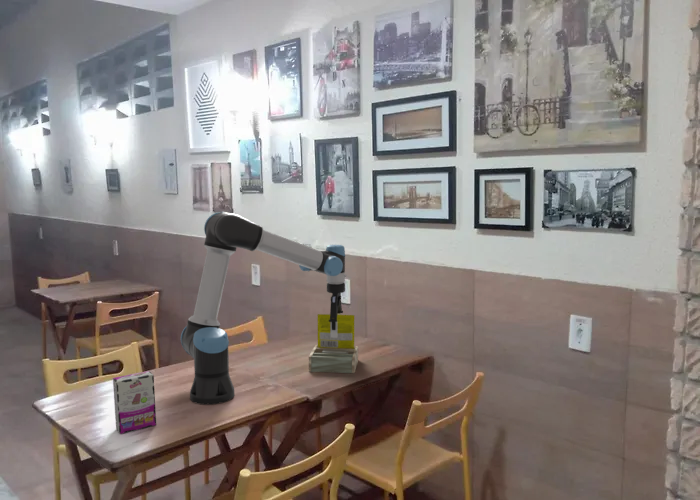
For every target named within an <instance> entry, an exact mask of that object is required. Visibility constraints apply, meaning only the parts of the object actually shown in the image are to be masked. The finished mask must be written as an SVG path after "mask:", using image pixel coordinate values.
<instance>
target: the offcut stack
mask: <svg viewBox="0 0 700 500" xmlns="http://www.w3.org/2000/svg"><path fill="white" fill-rule="evenodd" d="M322 353H338V354H348V350H337V349H324V350H323V351H322Z"/></svg>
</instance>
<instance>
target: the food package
mask: <svg viewBox="0 0 700 500" xmlns="http://www.w3.org/2000/svg"><path fill="white" fill-rule="evenodd" d="M333 319H335V318H333ZM329 320H330V313H329V314H328V313H327V314H325V313H318V314H317V345H318V348H345V349H354V346H355V315H354V314H341V315H337V338H332V337H331V325H330V322H329Z"/></svg>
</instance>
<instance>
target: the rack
mask: <svg viewBox="0 0 700 500" xmlns="http://www.w3.org/2000/svg"><path fill="white" fill-rule="evenodd" d="M324 349H337V350H348V354H338V353H322V351H323V350H324ZM358 362H359V346H357V345H356V346H355V345H354V349H345V348H318V344H315V345H314V347H313V348H312V350H311V352H310V354H309V355H308V372H311V373H315V372H316V373H318V372H319V373H336V374H337V373H339V374H340V373H343V374H355V372H356V371H357V366H358Z"/></svg>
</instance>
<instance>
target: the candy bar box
mask: <svg viewBox="0 0 700 500" xmlns="http://www.w3.org/2000/svg"><path fill="white" fill-rule="evenodd" d="M112 385H113V386H112V387H113V399H114V400H113V402H114V403H113V404H114V415H115V416H114V417H115V428H116V431H117V432H118V433H119V434H120V435H123V434H126V433H131V432H134V431H138V430H141V429H143V430H144V429H146V428H150V427H154V426H157V416H156V415H157V414H156V413H157V412H156V411H157V410H156V396H155V393H156V392H155V375H154V374H153V373H152V372H151V371H150V370H147V371H142V372H136V373H131V374H127V375H121V376H117V377H112Z"/></svg>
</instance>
